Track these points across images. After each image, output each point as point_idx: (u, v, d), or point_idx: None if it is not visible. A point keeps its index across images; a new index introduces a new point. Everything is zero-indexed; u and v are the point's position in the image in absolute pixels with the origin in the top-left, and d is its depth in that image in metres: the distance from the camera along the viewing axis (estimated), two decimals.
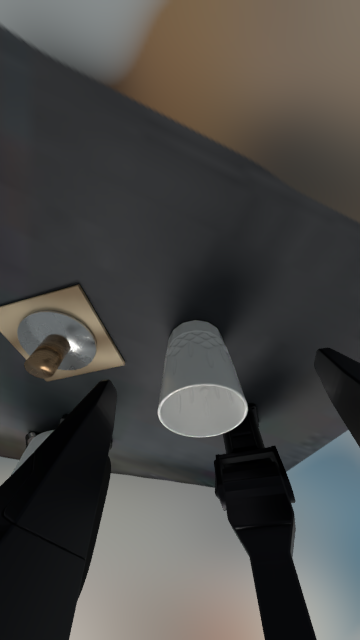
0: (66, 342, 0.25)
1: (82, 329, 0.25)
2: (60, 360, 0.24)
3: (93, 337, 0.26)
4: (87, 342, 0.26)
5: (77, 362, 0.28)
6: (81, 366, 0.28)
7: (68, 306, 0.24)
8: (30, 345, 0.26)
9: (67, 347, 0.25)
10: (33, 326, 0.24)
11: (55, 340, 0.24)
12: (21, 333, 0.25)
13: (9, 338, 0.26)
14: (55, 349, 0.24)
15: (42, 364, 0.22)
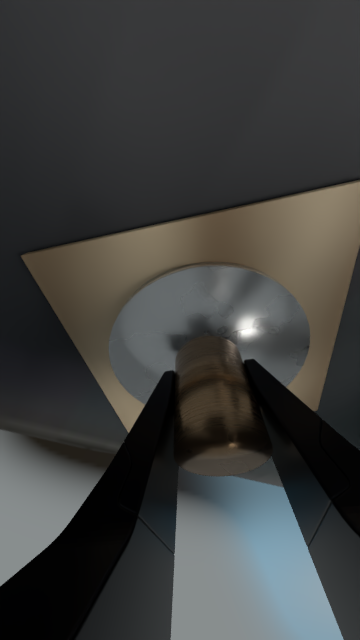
0: (200, 342, 0.09)
1: (159, 288, 0.08)
2: (229, 385, 0.07)
3: (201, 265, 0.08)
4: (214, 288, 0.08)
5: (284, 337, 0.09)
6: (303, 332, 0.09)
7: (96, 302, 0.09)
8: None
9: (213, 346, 0.08)
10: (152, 388, 0.11)
11: (179, 365, 0.09)
12: None
13: None
14: (189, 382, 0.07)
15: (205, 445, 0.06)
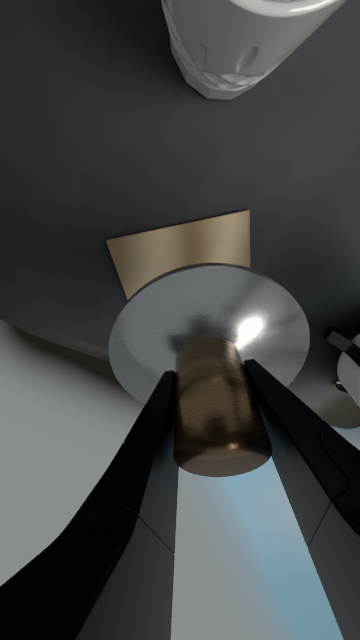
0: (200, 343, 0.09)
1: (159, 289, 0.08)
2: (229, 386, 0.07)
3: (201, 266, 0.08)
4: (214, 289, 0.08)
5: (283, 338, 0.09)
6: (303, 332, 0.09)
7: (135, 263, 0.19)
8: None
9: (213, 346, 0.09)
10: (152, 388, 0.11)
11: (179, 366, 0.09)
12: None
13: None
14: (190, 383, 0.07)
15: (205, 446, 0.06)
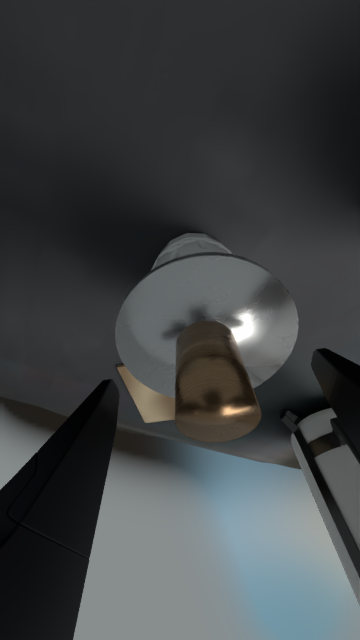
0: (198, 326, 0.10)
1: (162, 276, 0.09)
2: (223, 360, 0.08)
3: (199, 255, 0.09)
4: (211, 276, 0.09)
5: (274, 322, 0.10)
6: (292, 317, 0.10)
7: None
8: None
9: (210, 329, 0.09)
10: (154, 371, 0.12)
11: (180, 347, 0.10)
12: (170, 391, 0.13)
13: (170, 418, 0.32)
14: (189, 358, 0.08)
15: (202, 410, 0.07)
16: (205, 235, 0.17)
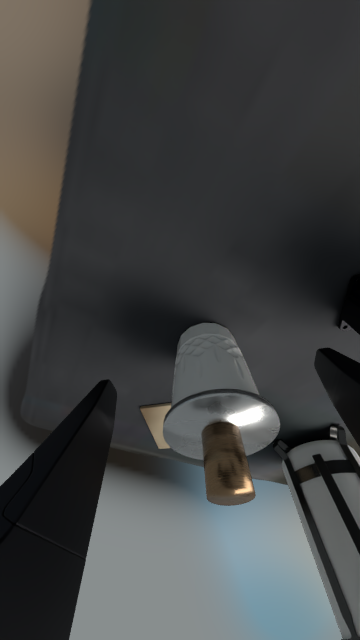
0: (217, 427, 0.16)
1: (196, 403, 0.15)
2: (234, 460, 0.14)
3: (218, 392, 0.14)
4: (225, 403, 0.15)
5: (265, 422, 0.16)
6: (275, 420, 0.16)
7: (156, 416, 0.33)
8: None
9: (224, 430, 0.15)
10: (186, 445, 0.18)
11: (205, 440, 0.15)
12: (195, 456, 0.19)
13: None
14: (213, 456, 0.14)
15: (222, 493, 0.13)
16: (217, 327, 0.23)
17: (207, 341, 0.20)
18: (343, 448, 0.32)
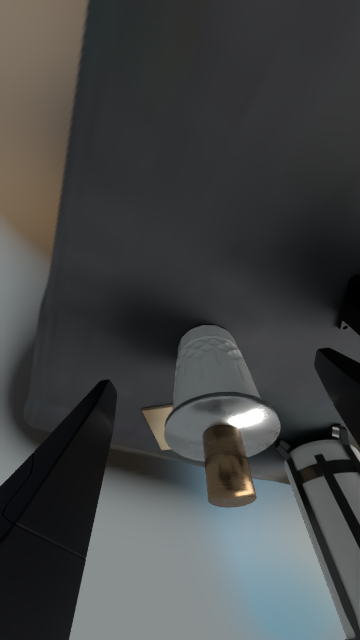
0: (217, 429, 0.16)
1: (196, 407, 0.15)
2: (234, 462, 0.14)
3: (218, 396, 0.15)
4: (225, 406, 0.15)
5: (265, 424, 0.16)
6: (276, 421, 0.16)
7: (158, 418, 0.33)
8: None
9: (225, 433, 0.15)
10: (187, 448, 0.18)
11: (206, 443, 0.16)
12: (197, 457, 0.19)
13: None
14: (214, 458, 0.14)
15: (223, 495, 0.13)
16: (217, 330, 0.23)
17: (207, 344, 0.21)
18: (345, 448, 0.32)
